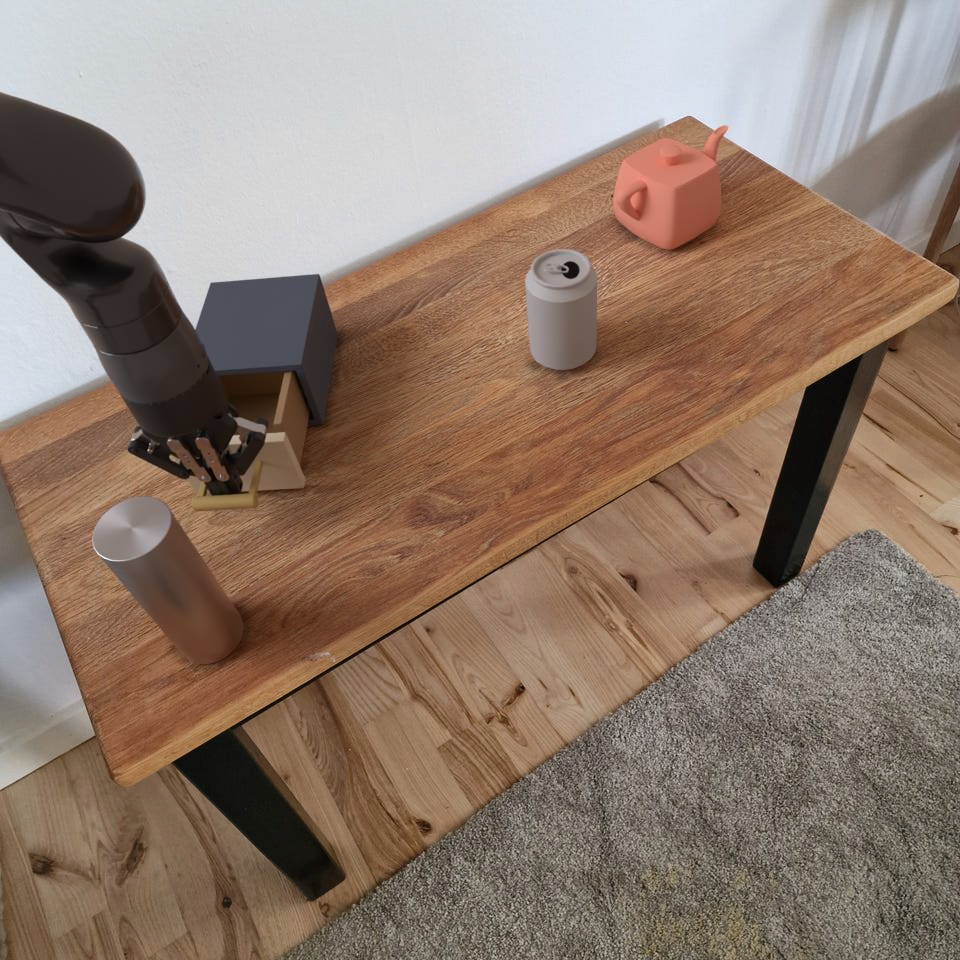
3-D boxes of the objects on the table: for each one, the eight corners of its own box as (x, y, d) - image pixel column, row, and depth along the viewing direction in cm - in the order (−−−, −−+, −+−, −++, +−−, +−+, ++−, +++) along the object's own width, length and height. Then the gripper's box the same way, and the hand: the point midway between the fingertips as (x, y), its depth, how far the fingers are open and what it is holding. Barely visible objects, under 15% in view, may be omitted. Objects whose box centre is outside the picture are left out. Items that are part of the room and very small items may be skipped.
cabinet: (323, 424, 90) (301, 364, 83) (212, 432, 91) (180, 372, 84) (338, 335, 100) (319, 273, 92) (236, 342, 101) (210, 282, 93)
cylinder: (172, 666, 74) (81, 563, 61) (187, 607, 77) (104, 498, 64) (237, 663, 73) (160, 559, 60) (249, 604, 77) (179, 493, 64)
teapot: (586, 232, 107) (586, 158, 99) (687, 176, 113) (695, 102, 105) (648, 272, 101) (654, 197, 93) (751, 211, 106) (765, 135, 98)
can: (598, 373, 91) (600, 286, 82) (530, 377, 92) (524, 291, 82) (593, 327, 96) (594, 240, 86) (529, 332, 96) (523, 245, 87)
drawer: (296, 532, 80) (274, 486, 75) (183, 538, 81) (153, 494, 76) (320, 393, 92) (303, 344, 87) (221, 399, 93) (198, 352, 88)
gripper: (66, 406, 65) (156, 531, 78) (230, 394, 64) (292, 523, 77) (94, 341, 69) (174, 470, 83) (247, 329, 68) (303, 462, 82)
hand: (231, 496), depth 80 cm, fingers closed
